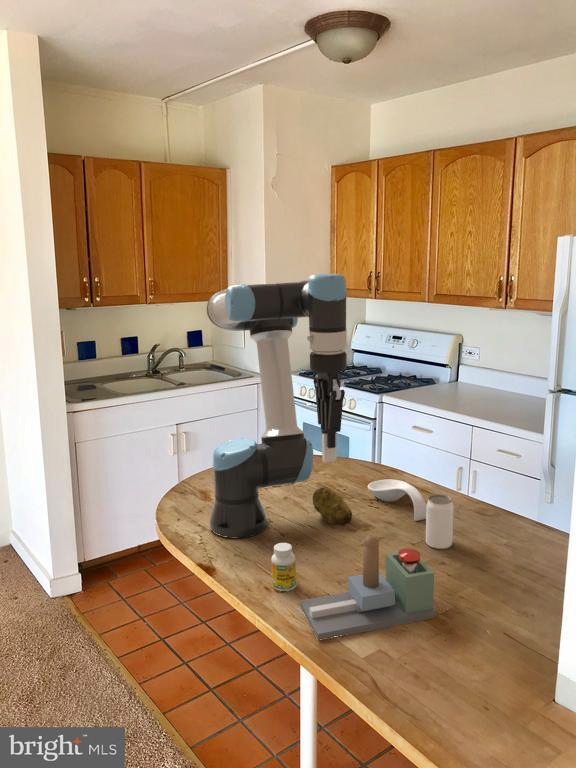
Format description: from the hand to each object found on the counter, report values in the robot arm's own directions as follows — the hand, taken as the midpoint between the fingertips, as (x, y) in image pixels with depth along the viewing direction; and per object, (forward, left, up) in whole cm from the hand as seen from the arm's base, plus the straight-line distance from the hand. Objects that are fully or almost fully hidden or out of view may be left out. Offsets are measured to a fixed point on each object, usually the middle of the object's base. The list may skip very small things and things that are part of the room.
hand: (329, 460), depth 134 cm
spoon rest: (-35, +33, -30) cm, 57 cm away
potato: (-32, +11, -30) cm, 45 cm away
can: (-10, +32, -30) cm, 45 cm away
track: (+12, +4, -29) cm, 32 cm away
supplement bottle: (-3, -10, -30) cm, 31 cm away
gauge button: (+12, +13, -27) cm, 32 cm away
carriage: (+12, +5, -28) cm, 31 cm away
